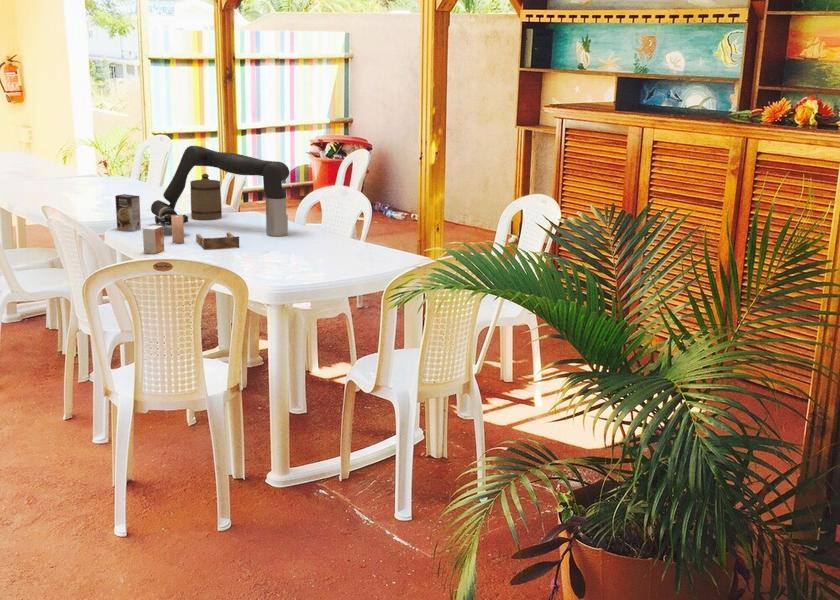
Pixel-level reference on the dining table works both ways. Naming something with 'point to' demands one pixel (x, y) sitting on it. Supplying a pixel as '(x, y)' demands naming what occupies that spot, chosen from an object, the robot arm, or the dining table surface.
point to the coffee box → (128, 212)
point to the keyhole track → (218, 242)
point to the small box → (153, 239)
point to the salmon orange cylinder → (177, 229)
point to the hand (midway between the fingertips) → (174, 222)
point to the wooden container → (205, 199)
